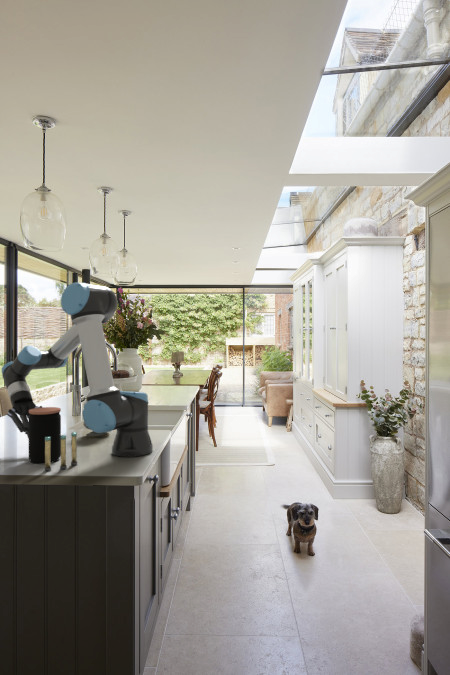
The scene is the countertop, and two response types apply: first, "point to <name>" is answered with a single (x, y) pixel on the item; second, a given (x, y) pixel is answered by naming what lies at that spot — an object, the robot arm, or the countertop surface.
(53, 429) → the coffee jar
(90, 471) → the countertop surface
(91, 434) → the apothecary jar
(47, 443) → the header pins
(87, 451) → the countertop surface
